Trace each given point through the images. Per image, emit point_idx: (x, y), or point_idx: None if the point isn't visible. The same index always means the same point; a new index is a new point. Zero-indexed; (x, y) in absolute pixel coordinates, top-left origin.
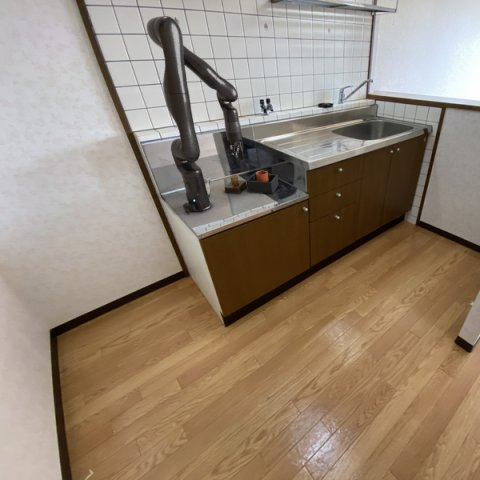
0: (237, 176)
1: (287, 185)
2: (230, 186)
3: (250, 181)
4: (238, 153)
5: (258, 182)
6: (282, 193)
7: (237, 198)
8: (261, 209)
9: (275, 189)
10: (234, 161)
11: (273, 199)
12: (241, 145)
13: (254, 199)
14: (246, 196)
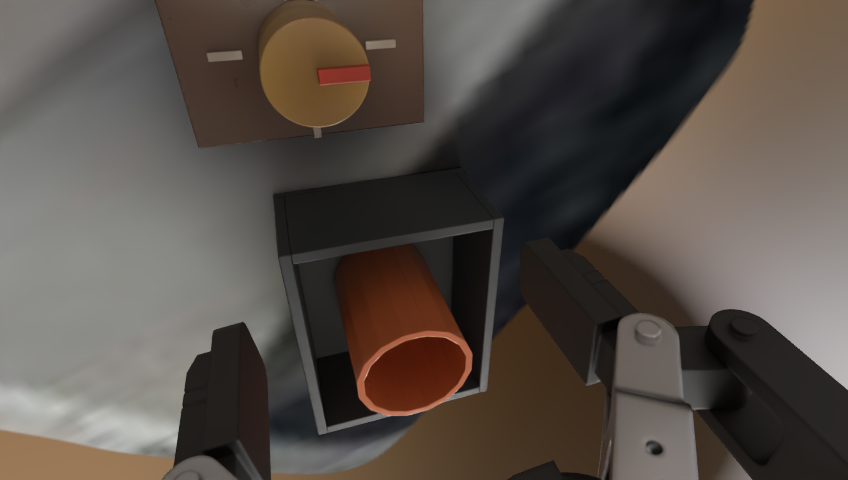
0: (333, 124)
1: None
2: (208, 26)
3: (287, 294)
4: (583, 313)
5: (301, 353)
6: None
7: (88, 174)
8: (32, 426)
9: None
10: (187, 412)
11: None
12: (765, 477)
13: (158, 311)
14: (177, 227)
